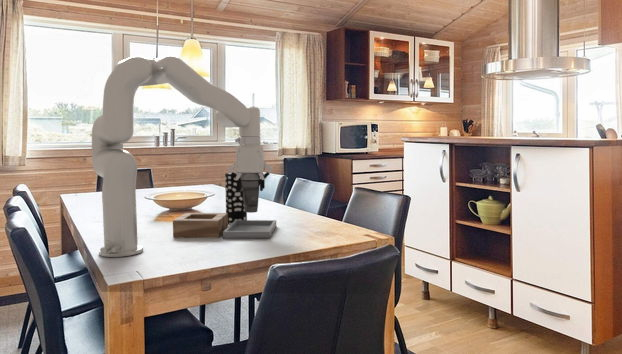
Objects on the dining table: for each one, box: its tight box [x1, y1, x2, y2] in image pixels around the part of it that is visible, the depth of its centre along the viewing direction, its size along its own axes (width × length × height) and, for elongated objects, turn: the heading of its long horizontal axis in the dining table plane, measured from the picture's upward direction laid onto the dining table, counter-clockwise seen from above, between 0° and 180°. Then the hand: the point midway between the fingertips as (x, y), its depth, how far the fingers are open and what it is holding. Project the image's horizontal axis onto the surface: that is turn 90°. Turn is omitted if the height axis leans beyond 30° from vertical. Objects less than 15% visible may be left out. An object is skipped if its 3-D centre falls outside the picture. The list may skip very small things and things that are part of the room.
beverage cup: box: [241, 173, 261, 214], centre depth 180 cm, size 7×7×20 cm
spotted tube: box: [224, 172, 248, 226], centre depth 200 cm, size 8×8×20 cm
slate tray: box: [222, 219, 277, 240], centre depth 181 cm, size 22×16×2 cm
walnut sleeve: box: [172, 212, 229, 239], centre depth 181 cm, size 16×16×6 cm
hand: (250, 190), depth 180 cm, fingers closed on beverage cup, 7 cm apart
